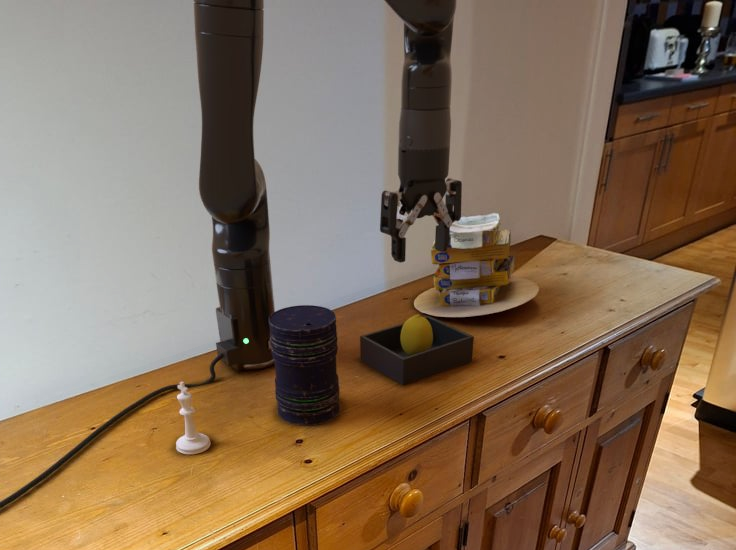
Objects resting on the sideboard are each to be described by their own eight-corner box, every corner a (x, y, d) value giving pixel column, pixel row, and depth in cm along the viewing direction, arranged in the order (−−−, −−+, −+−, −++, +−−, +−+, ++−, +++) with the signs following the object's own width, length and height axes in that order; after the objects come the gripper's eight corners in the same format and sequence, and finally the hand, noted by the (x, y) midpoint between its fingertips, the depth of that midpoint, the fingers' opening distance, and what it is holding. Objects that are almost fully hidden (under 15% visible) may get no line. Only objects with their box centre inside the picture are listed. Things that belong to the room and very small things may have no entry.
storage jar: (269, 402, 112) (260, 310, 103) (328, 390, 115) (323, 300, 106) (287, 431, 104) (278, 335, 95) (349, 418, 107) (346, 324, 98)
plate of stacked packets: (393, 315, 140) (394, 228, 130) (441, 277, 158) (445, 198, 148) (513, 335, 131) (524, 243, 121) (550, 293, 148) (562, 209, 138)
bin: (402, 385, 116) (403, 359, 113) (360, 360, 124) (359, 335, 121) (472, 361, 122) (474, 336, 120) (427, 339, 130) (428, 315, 128)
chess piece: (195, 433, 105) (184, 371, 99) (217, 443, 102) (207, 380, 96) (169, 447, 102) (155, 384, 96) (191, 458, 99) (179, 394, 93)
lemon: (430, 366, 120) (432, 321, 115) (397, 364, 121) (398, 320, 116) (433, 353, 124) (435, 309, 120) (402, 351, 125) (403, 307, 121)
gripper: (444, 133, 108) (439, 242, 118) (369, 145, 102) (370, 258, 111) (478, 140, 103) (469, 253, 113) (401, 152, 97) (399, 270, 106)
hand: (420, 255), depth 112 cm, fingers open, 8 cm apart
